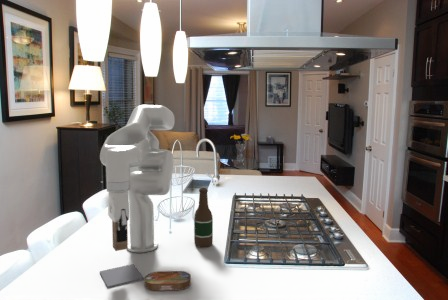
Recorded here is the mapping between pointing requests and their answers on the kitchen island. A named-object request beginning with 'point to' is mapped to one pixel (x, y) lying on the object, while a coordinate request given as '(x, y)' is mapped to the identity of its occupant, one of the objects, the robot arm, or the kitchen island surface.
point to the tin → (167, 280)
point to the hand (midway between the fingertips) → (120, 238)
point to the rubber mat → (121, 275)
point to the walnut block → (116, 244)
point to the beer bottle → (203, 222)
